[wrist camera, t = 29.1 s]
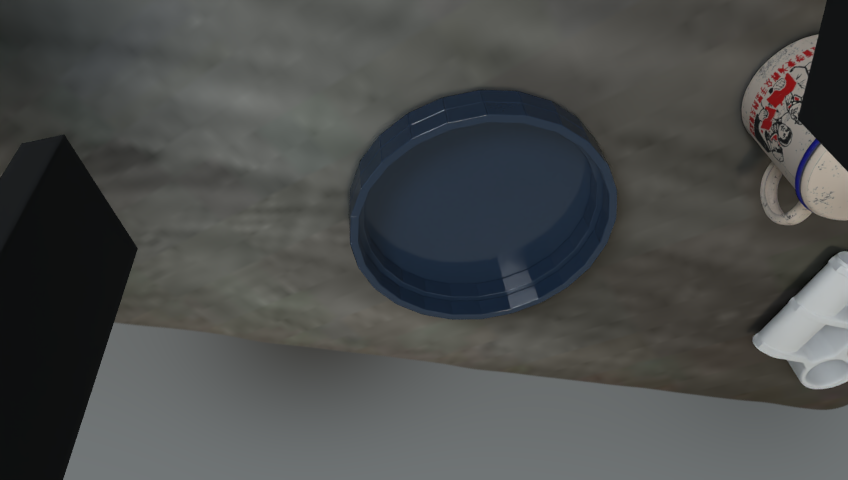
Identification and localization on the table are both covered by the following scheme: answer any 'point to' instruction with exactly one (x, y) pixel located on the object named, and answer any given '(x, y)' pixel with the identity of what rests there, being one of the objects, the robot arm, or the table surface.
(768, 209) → the teacup with lid
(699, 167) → the table surface
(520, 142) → the bowl
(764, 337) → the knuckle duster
